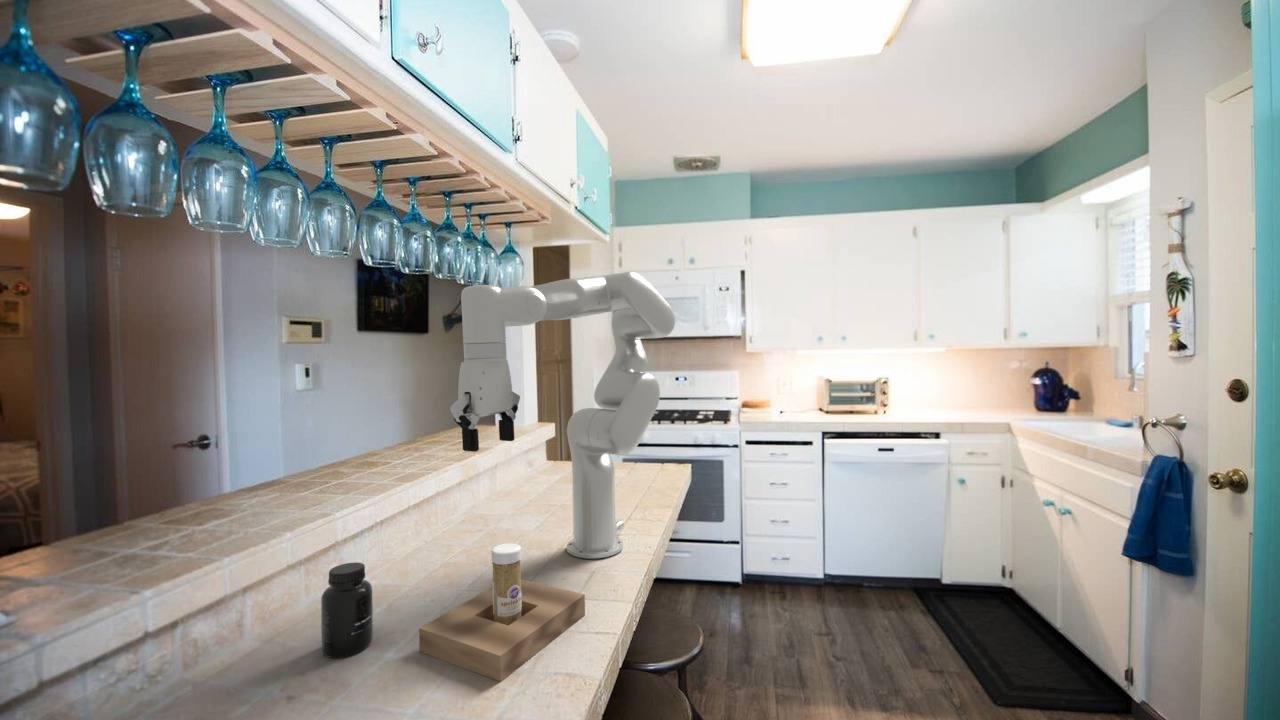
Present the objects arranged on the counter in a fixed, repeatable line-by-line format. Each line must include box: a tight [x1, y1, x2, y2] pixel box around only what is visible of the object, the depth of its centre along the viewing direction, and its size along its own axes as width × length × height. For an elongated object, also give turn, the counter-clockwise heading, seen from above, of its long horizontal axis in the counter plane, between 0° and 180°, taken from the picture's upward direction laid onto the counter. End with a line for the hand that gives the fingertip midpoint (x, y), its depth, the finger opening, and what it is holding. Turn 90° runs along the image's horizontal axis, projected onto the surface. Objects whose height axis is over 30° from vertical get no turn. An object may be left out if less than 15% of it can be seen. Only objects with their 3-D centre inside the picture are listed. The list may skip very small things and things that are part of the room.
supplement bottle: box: [320, 561, 374, 659], centre depth 80 cm, size 7×7×12 cm
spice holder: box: [418, 578, 586, 682], centre depth 83 cm, size 20×16×4 cm
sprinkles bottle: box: [491, 542, 522, 626], centre depth 83 cm, size 5×5×13 cm
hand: (489, 445), depth 97 cm, fingers open, 9 cm apart
